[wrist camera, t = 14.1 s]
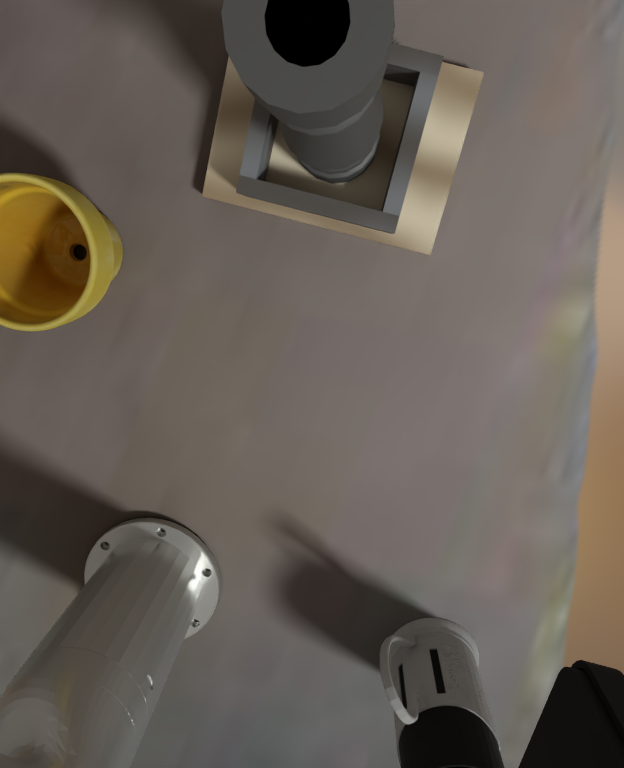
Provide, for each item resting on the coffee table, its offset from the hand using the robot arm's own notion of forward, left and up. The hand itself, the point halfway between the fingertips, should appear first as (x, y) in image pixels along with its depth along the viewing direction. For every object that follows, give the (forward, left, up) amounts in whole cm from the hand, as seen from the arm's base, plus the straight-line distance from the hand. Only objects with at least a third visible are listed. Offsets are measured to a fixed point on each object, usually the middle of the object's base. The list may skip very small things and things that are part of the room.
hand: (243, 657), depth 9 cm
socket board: (+13, +3, -40) cm, 42 cm away
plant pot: (0, +21, -40) cm, 46 cm away
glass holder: (-27, -15, -40) cm, 51 cm away
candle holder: (+13, +3, -39) cm, 41 cm away
